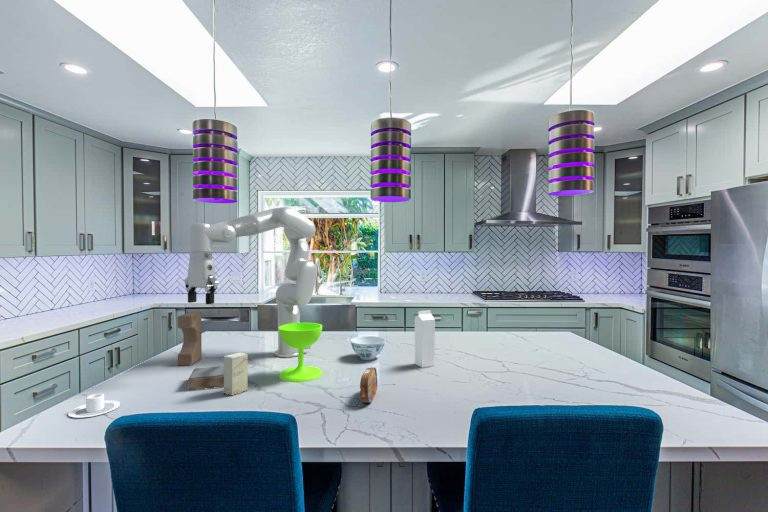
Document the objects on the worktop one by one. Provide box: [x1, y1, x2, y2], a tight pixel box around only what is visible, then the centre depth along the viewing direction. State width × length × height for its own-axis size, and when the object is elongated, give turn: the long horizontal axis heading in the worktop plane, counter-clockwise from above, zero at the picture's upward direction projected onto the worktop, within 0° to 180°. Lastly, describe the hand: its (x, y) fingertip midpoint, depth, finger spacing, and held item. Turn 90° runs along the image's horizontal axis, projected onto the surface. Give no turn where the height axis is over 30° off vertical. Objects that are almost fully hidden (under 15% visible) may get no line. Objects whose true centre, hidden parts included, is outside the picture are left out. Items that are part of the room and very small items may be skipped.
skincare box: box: [223, 352, 249, 396], centre depth 123 cm, size 6×4×12 cm
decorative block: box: [177, 311, 202, 367], centre depth 157 cm, size 11×6×20 cm, turn 5°
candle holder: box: [67, 393, 121, 419], centre depth 110 cm, size 12×12×4 cm
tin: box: [359, 366, 378, 404], centre depth 119 cm, size 15×3×8 cm, turn 171°
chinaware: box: [350, 335, 386, 361], centre depth 163 cm, size 15×15×8 cm
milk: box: [414, 309, 436, 368], centre depth 153 cm, size 6×6×22 cm
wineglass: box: [278, 322, 323, 383], centre depth 141 cm, size 16×16×18 cm
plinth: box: [187, 365, 224, 391], centre depth 132 cm, size 12×12×4 cm
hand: (200, 303), depth 139 cm, fingers open, 9 cm apart
